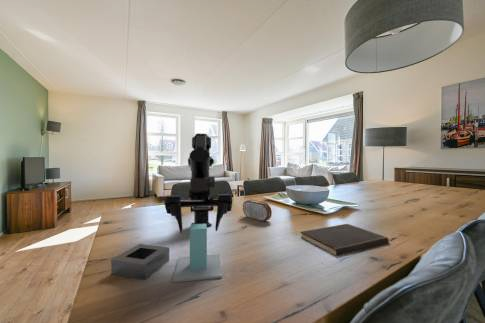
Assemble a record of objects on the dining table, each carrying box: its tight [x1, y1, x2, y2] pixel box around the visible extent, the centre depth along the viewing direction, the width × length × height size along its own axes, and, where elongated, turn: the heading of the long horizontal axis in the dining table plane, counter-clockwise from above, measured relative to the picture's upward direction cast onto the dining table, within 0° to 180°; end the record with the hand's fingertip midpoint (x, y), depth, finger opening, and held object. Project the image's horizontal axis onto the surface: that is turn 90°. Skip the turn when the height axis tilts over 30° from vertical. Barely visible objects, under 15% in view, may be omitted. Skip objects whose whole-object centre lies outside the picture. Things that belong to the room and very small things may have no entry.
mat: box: [172, 253, 223, 283], centre depth 54 cm, size 11×11×1 cm
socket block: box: [110, 243, 170, 281], centre depth 54 cm, size 9×9×4 cm
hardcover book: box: [299, 223, 390, 257], centre depth 72 cm, size 16×23×2 cm
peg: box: [189, 224, 208, 271], centre depth 54 cm, size 4×4×10 cm
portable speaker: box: [242, 198, 273, 222], centre depth 95 cm, size 15×3×8 cm, turn 47°
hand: (198, 231), depth 56 cm, fingers open, 9 cm apart
